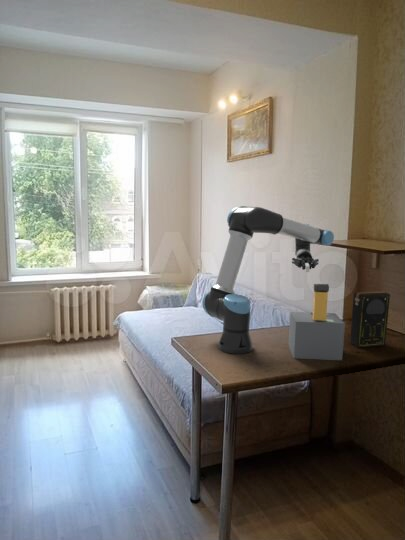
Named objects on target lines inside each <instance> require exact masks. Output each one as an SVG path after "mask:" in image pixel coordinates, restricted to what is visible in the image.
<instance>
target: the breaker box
mask: <svg viewBox="0 0 405 540" xmlns="http://www.w3.org/2000/svg"><path fill="white" fill-rule="evenodd" d="M289 314H290V315H289V328H288V330H289V332H288V347H289V350H290V353H291V355H292V358H293V359H301V360H304V359H306V360H327V361H328V360H329V361H343V353H344V338H345V329H346V328H345V327H346V323H345V322H344V320H342V319H341V318H340V317H339V316H338V315H337V313H335V312H326V321H321V320H313V319H312V315H313V311H312V312H311V311H309V312H307V311H303V312H302V311H290V313H289Z"/></svg>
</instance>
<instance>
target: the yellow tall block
mask: <svg viewBox="0 0 405 540" xmlns="http://www.w3.org/2000/svg"><path fill="white" fill-rule="evenodd" d="M329 291H330V285H329V284H328V283H313V302H312V303H313V304H312V312H313V315H312V319H313V320H321V321H326V313H328V312H327V310H328V309H327V308H328V298H329V296H328V295H329V293H328V292H329Z"/></svg>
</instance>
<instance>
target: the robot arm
mask: <svg viewBox="0 0 405 540" xmlns="http://www.w3.org/2000/svg"><path fill="white" fill-rule="evenodd" d="M226 221H227V226H228V227H229V228H228V233H229V235H230V236H229V239H228V243H227V245H226V248H225V249H226V250H225V253H224V256H223V258H222V262H221V266H220V269H219V273H218V276H217V278H216V282H215V284H213V285H211V288H210V291H207V293H205V294H204V296H203V298H202V308H203V310H204V312H205V313H206V314H207V315H208V316H210V317H212V318H215V319H217V320H220V321H222V333H221V335H220V338H219V341H218V349H219V351H222V352H225V353H228V354H233V355H234V354H237V355H238V354H241V355H242V354H246V353H250V352H251V351H253V348H254V347H253V345H254V344H253V341H252V338H251V337H252V336H251V334H250V324H251V323H250V322H251V321H250V320H251V301H250V299H249V298H248V297H246V296H244V295H242V294H238V293H237V294H236V292H235V290H234V288H235V284H236V282H237V278H238V275H239V271H240V268H241V265H242V262H243V258H244V255H245V253H246V252H245V251H246V248H247V244H248V242H249V240H251V239H253V236H254V233H255V234H256V233H258V234H260V233H261V234H269V235H273V236H274V235H277V234H279V235H282V236H287V237H290V238H294V241H295V247H294V248H295V254H294V255H295V257H292V259H291V263H292V264H294V265H295V266H296V267H297V268H299V269H302V271H303V270H304V271H305V273H310V270H312V269H315V268H316V267H317V265H319V258H316V259H314V258H313V256H312V253H311V245H319V246H326V247H327V246H330V245H332V244H333V242H334V239H335V234H334V233H333V232H332V230H328V229H321V228H318V227H314V226H311V225H310V224H309V223H302V222H299V221H296V220H292V219H289V218H286V217H283V215H282V214H280V213H278V212H275V211H272V210H269V209H268V208H263V207H259V206H245V205H243V206H241V205H240V206H236V207H234V208H233V209H231V210H230V211H229V213H228V214H227V219H226Z"/></svg>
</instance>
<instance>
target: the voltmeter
mask: <svg viewBox="0 0 405 540" xmlns="http://www.w3.org/2000/svg"><path fill="white" fill-rule="evenodd" d="M390 297H391V294H390V293H389V292H386V291H381V290H380V291H377V290H376V291H359V292H354V293H353V298H352V299H353V300H352V313H351V323H350V335H349V342H350V344H352V345H354V346H355V347H356V348H358V349H359V348H360V349H361V348H372V347H383V346H385V345H386V340H387V329H388V319H389V318H388V317H389V309H390Z"/></svg>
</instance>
